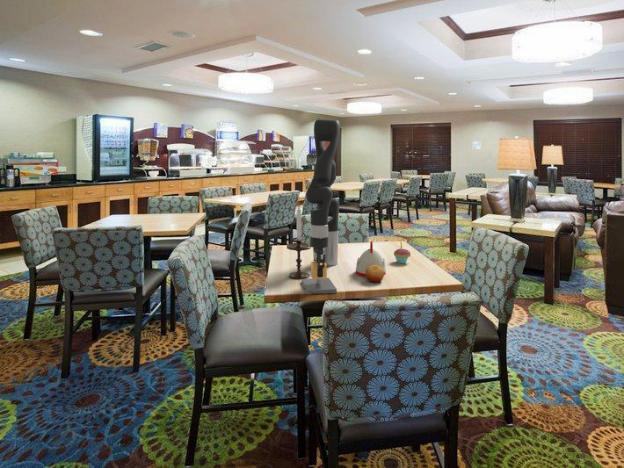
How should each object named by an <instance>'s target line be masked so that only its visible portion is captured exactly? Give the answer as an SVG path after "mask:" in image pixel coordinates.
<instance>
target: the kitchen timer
mask: <svg viewBox="0 0 624 468" xmlns="http://www.w3.org/2000/svg"><path fill="white" fill-rule="evenodd" d="M369 242H370V243H369V244H370V245H369V248H368V249H366V250H364V251H363V252H362V254H361V255H360V256H359V257H357V259H356V263H355V264H356V265H355V266H356V267H355V274H356V275H357V276H359V277H363V278H367V276H366V269H367V268H368V267H369V266H372V265H378V266H380V267H381V268H383V271H384V275H385V276H386V272H387V271H386V262H385V258H383V256H382V255H381V254H380V253H379V251H378V250H376V249H375V248H373V246H374V243H373V241H369Z"/></svg>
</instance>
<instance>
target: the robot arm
mask: <svg viewBox="0 0 624 468" xmlns="http://www.w3.org/2000/svg"><path fill="white" fill-rule="evenodd" d="M340 134H341V123H340V121H339V120H337V119H326V118H325V119H324V118H323V119H321V118H319V119H316V120H315V121H314V124H313V138H314V139H313V140H314V146H315V147H314V148H315V164H314V170H313V177H312V179H311V181H310V184H309V186H308V188H307V190H306V193H305V194H306V195H305V197H306V198H305V199H306V201H307V202H308V203H309V204H312V205H316V209H313V210H311V212H310V227H309V244H310V246H311V248H312V253H313V260H312V262H316V263H317V276H318V277H323V268H324V267H325V263H326V264H327V267H328V266H335V265H338V261H339V259H338V256H339V214H340V213H339V212H340V202H339V199H338V198H335V197H334V194H333V190H332V188H331V187H332V186H333V185H334V183H335V181H336V178H337V164H336V162H335V160H334V159H335V155H336V151H337V147H338V145H339V144H338V143H339V139H340ZM324 142H327V143H328V142H329V144H328V145H327V147H326V146H325V143H324ZM329 218H331V219H330V220H329ZM320 263H322V265H320Z"/></svg>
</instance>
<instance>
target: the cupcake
mask: <svg viewBox="0 0 624 468" xmlns="http://www.w3.org/2000/svg"><path fill="white" fill-rule="evenodd" d="M411 255H412V254H411V252H410V250H408V249H406V248H403V240H402V239H400V248H397V249H395V250H394V252H393V256H394V258H395V260H396V263H398V264H406V263H407V261H408V259H409V257H411Z"/></svg>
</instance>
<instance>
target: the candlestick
mask: <svg viewBox="0 0 624 468" xmlns="http://www.w3.org/2000/svg"><path fill="white" fill-rule="evenodd" d="M297 201H298V202H297V209H296V238H295V239H294V241H295V242H293V243H288V244H286V249H287V250H289V251H295V252H296V253H297V254H296V255H297V258H296V259H295V262H296V265H295V266H296V268H297V270H296V271H292V272H290V273H288V278H290V279H291V280H292V279H293V280H302V279H305V278H306V279H309V277H310V276H309V275H310V274H309V273H308V272H306V271H301V267H302V265H301V263H302V261H303V260H302V258H301V252H302V251H308V250H311V248H312V247H311V246H310V243H305V242H302V241H304V239H303V238H302V209H300V204H301V203H300V202H301V201H300V200H299V199H298V200H297Z"/></svg>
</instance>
